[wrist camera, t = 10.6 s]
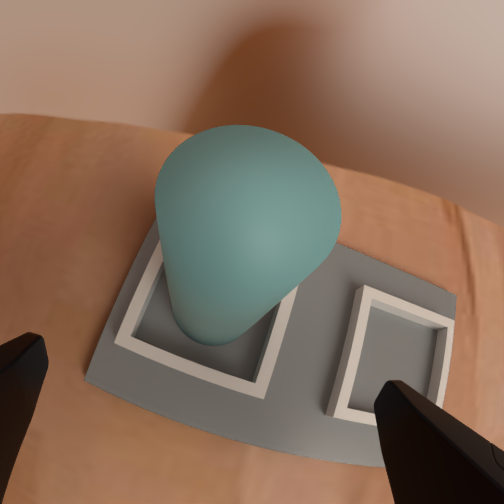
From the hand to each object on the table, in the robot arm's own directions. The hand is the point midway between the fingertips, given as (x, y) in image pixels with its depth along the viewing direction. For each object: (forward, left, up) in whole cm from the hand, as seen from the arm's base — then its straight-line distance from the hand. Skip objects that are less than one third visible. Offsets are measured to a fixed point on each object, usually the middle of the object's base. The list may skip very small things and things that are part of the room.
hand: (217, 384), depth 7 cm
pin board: (+6, 0, -8) cm, 10 cm away
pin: (+1, +3, -8) cm, 9 cm away
